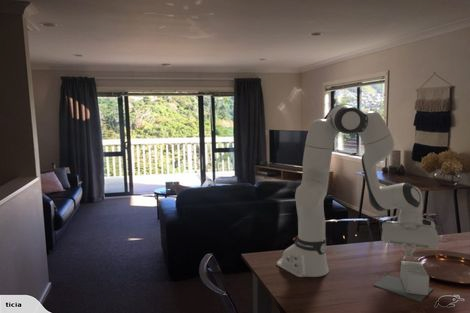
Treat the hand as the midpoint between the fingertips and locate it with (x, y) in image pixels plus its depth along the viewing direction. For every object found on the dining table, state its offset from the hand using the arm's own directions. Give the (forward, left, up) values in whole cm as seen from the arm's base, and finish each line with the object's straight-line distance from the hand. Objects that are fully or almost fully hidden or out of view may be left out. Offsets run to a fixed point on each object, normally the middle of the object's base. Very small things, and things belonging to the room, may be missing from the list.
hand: (408, 255), depth 139 cm
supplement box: (0, +3, -7) cm, 7 cm away
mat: (+1, -6, -11) cm, 12 cm away
